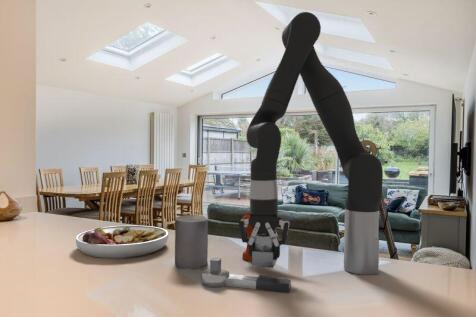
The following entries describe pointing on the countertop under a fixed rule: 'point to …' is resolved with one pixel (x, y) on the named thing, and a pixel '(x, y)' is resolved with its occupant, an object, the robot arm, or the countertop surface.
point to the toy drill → (249, 232)
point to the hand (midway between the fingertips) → (264, 258)
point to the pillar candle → (191, 241)
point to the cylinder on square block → (263, 251)
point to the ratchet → (241, 279)
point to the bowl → (121, 241)
